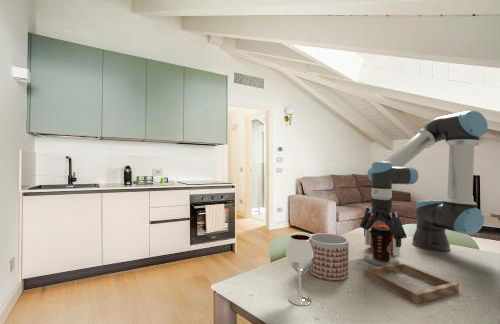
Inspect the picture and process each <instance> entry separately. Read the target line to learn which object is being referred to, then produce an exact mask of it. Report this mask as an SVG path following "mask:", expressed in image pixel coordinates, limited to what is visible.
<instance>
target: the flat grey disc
mask: <svg viewBox="0 0 500 324" xmlns="http://www.w3.org/2000/svg"><path fill="white" fill-rule="evenodd" d="M363 259H364V261H366V262H367V263H370V264H371V265H373V266H374V265H375V266H383V265H388V264H394V263H399V262H400V261H399V260H398V259H396V258H395V257H392V256H390V261H389V262H380V261H376V260H374V259H373V254H372V253H368V254H364V256H363Z"/></svg>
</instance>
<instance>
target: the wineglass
mask: <svg viewBox="0 0 500 324" xmlns="http://www.w3.org/2000/svg"><path fill="white" fill-rule="evenodd" d="M309 236H310V235H305V234H292V235H290V237H289V240H288V245H287V248H286V254H285V258H286V261H287V263H288V264H289V266H290V267H291V268H292V269H293V270H294V271H295V272H296V273H297V275H298V293H297V292H295V293H292V294H289V296H288V301H289V302H290V303H291V304H293V305H296V306H300V307H301V306H302V307H304V306H308V305H310V304H311V302H312V299H311V297H310V296H308V294H307V295H306V294H305V293H302V275H303V274H304V273H305V272H306V271H309V268H310V267H311V266H312V265H313V263H314V260H315V255H314V250H313V246H312V242H311V238H310V237H309Z"/></svg>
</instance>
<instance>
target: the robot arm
mask: <svg viewBox="0 0 500 324" xmlns="http://www.w3.org/2000/svg"><path fill="white" fill-rule="evenodd" d="M488 127H489V126H488V121H487V119H486V117H485V116H484V115H483V114H482V113H481V112H479V111H477V110H466V111H460V112H457V113H452V114H451V113H450V114H448V115H442V116H439V117H436V118H433V119H432V120H431V121H429V122H428V123H426V124H424V126H422V127H420V128H419V129H418V130H417V131H415V134H414V136H413V137H412V138H410V140H408V141H407V142H406V143H404V144H403V145H402V146H401V147H399V148H397V150H396V151H395V152H394V153H392V154H391V155H390V156H389V157H387V158H386V159H384V161H374V162H372V164H371V167H370V168H368V170H367V174H366V175H367V178H368V180H370V181H371V203H370V204H371V206H370V207H366V208H365V213H364V215H363V217H362V219H361V222H360V224H359V226H360V227H361V228H363V236H364V245H365V246H370V245H371V233H370V230H371V228H372V227H373V225H374V224H375V222H377V221H380V222H382V223H385V224H386V226H388V227H389V229H390V230H391V232H392V234H393V235H394V237H395V238H393V252H392V255H393V256H399V255H401V254H400V251H401V249H400V248H402V239H406V238H407V234H406V232H405V229H404V227H403V224H402V222H401V219H400V215H399V212H395V211H394V212H392V210H391V209H392V206H393V204H392V203H393V202H392V198H393V194H392V193H393V190H392V189H393V185H407V186H408V185H414V184H416V183H417V182H418V180H419V172H418V170H417V169H416V168H415V167H412V166H406V165H407V164H408V163H409V162H410V161H412V160H413V159H414V158H415V157H417V156H418V155H419V154H420V153H422V151H424V150H425V149H426V148H427V147H430V146H431V147H432V146H433V145H435V144H436V143H438V142H441V141H445V144H447V145H448V147H449V148H448V149H449V150H448V151H449V152H448V168H447V169H448V171H447V174H448V175H447V192H446V193H447V195H446V196H447V197H445V198H444V199H443V200H439V199H435V200H434V199H433V200H432V199H431V200H429V199H427V200H425V199H424V200H423V199H422V200H418V201H417V202H416V207H415V210H416V211H415V214H416V217H415V220H416V221H415V222H416V227H415V228H416V229H415V232H414V234H413V237H412V239H411V240H412V245H414V246H415V247H419V248H421V249H426V250H429V251H430V250H431V251H437V252H447V251H450V250H451V245H450V242H449V239H448V237H447V233H446V230H447V231H451V232H455V233H458V234H464V235H473V234H476V233H478V232H479V231H480V230H481V229H482V227H483V226H484V224H485V216H484V213H483V211H482V210H481V209H479V208H478V204H477V202H475V201H474V199H473V192H474V189H473V188H474V166H475V145H477V144H478V143H479V142H480V137H482V136H483V135H485V134H486V132H488Z"/></svg>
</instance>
